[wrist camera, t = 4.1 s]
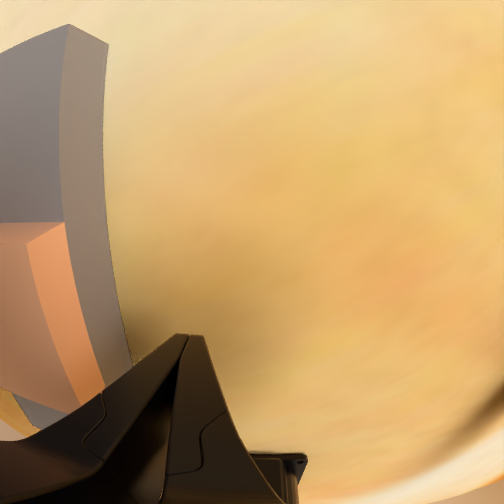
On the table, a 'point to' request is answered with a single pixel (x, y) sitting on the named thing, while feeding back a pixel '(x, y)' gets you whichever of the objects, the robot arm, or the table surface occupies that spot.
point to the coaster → (43, 320)
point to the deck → (63, 176)
